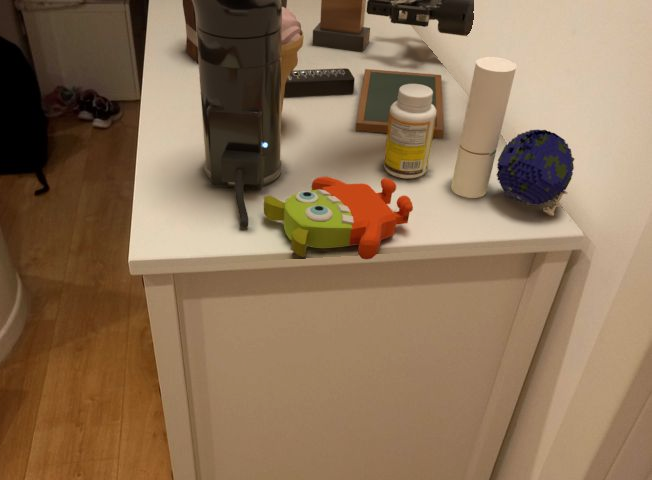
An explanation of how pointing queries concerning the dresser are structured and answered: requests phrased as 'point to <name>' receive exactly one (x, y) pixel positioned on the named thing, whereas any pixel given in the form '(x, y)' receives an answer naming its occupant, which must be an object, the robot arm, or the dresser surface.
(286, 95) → the multiport hub
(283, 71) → the ice cream cone
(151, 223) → the dresser surface
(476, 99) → the tube
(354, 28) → the duster
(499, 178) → the globe
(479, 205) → the dresser surface
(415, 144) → the supplement bottle
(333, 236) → the toy
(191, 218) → the dresser surface
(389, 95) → the chalkboard
